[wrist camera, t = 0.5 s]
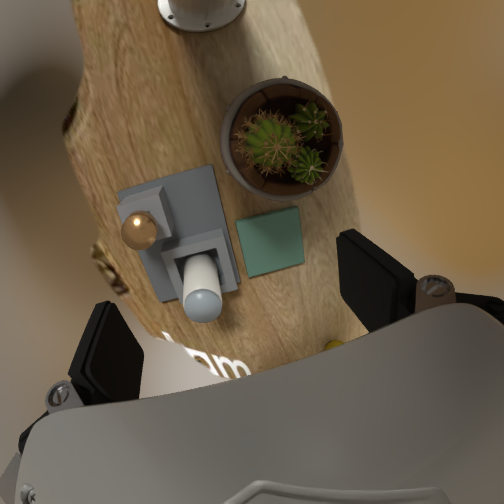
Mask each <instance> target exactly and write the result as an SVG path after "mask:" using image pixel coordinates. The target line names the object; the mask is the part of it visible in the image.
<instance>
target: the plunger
mask: <svg viewBox="0 0 504 504" xmlns="http://www.w3.org/2000/svg"><path fill="white" fill-rule="evenodd" d="M157 232H158V223H157V220H156V219H155V217H154V216H153V215H152V214H151V213H150V211H143V210H138V211H135V212H132V213H131V214H130V215H129V216H128V217H127V218H126V220H125V221H124V223H123V225H122V228H121V236H122V239H123V241H124V243H125V244H126V245H127V246H128V247H130V248H132V249H134V250H145V249H147V248H149V247H150V246H152V244H153V243H154V241H155V239H156V236H157Z"/></svg>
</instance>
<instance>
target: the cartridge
mask: <svg viewBox="0 0 504 504" xmlns="http://www.w3.org/2000/svg"><path fill="white" fill-rule="evenodd" d="M183 307H184V309H185V313H186V315H187V316H188V317H189V318H190V319H191V320H193V321H195V322H199V323H207V322H211V321H213V320H215V319H216V318H217V317H218V316H219V315H220V313H221V309H222V296H221V291H220V285H219V278H218V272H217V266H216V260H215V257H214V255H213V254H212V253H211V252H210V251H209V250H205V251H202V252H198V253H194V254H190V255H187V256H186V258H185V264H184V286H183Z"/></svg>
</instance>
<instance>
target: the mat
mask: <svg viewBox="0 0 504 504" xmlns="http://www.w3.org/2000/svg"><path fill="white" fill-rule="evenodd" d="M235 222H236V226H237V231H238V235H239V239H240V244H241V248H242V252H243V257H244V261H245V265H246V270H247V274H248V277H252V276H255V275H259V274H263V273H267V272H270V271H274V270H278V269H281V268H285V267H289V266H292V265H296V264H300V263H303V262H305V260H304V251H303V242H302V234H301V225H300V217H299V209H298V207H297V206H294V207H290V208H286V209H282V210H277V211H273V212H269V213H265V214H261V215H256V216H252V217H248V218H244V219H240V220H236V221H235Z"/></svg>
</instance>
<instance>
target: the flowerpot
mask: <svg viewBox="0 0 504 504" xmlns="http://www.w3.org/2000/svg"><path fill="white" fill-rule="evenodd" d="M226 110H227V113H226V114H225V117H224V119H223V123H222V127H221V133H220V147H221V153H222V158H223V161H224V164H225V166H226V168H227V170H226V173H227V174H231V176H232V177H233V178H234V179H235V180H236V181H237V182H238V183H239V184H240V185H241V186H243V187H244V188H245V189H247V190H248V191H250V192H252V193H254V194H256V195H258V196H261V197H263V198H266V199H270V200H275V201H280V202H282V203H283V202H285V201H290V200H297V199H300V198H302V197H304V196H306V195H308V194H311V193H312V192H313V191H314V190H317V189H318V188H320V187H321V186H323V185H324V184H325V183H326V182H327V181H328V180H329V179H330V178H331V176H332V174H333V173H334V171H335V169H336V167H337V165H338V162H339V159H340V155H341V152H342V148H343V135H342V124H341V120H340V118H339V115H338V112H337V111H336V110H335V108H334V107H333V105H332V104H331V103H330V102H329V100H328V99H327V98H326V97H325V96H324V95H322V94H321V93H320V92H319V91H318V90H316V89H315V88H313V87H311V86H309V85H307V84H305V83H303V82H301V81H298V80H294V79H288V77H287V76H283V77H282V78H276V79H270V80H266V81H263V82H260V83H257V84H255V85H253V86H251V87H249V88H247V89H246V90H244V91H243V92H242V93H240V94H239V95H238V96H237V97H236V98H235V99H234V100H233V101H232V103H231V105H228V106H227V107H226Z"/></svg>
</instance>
